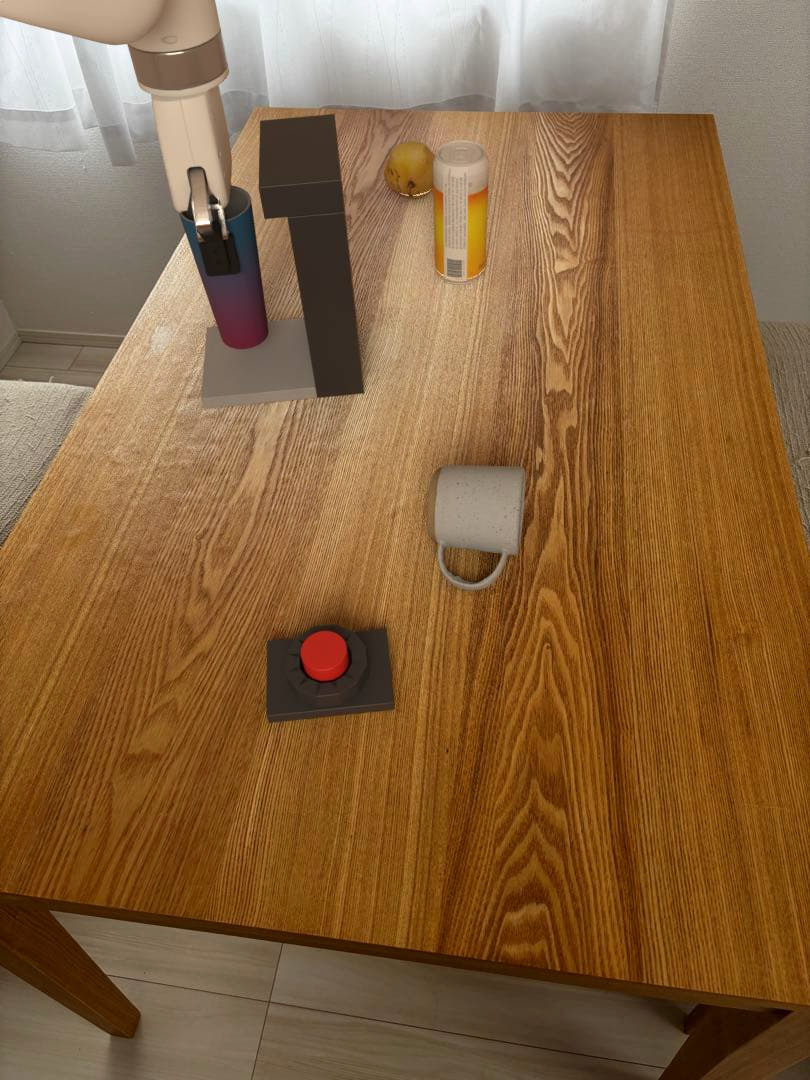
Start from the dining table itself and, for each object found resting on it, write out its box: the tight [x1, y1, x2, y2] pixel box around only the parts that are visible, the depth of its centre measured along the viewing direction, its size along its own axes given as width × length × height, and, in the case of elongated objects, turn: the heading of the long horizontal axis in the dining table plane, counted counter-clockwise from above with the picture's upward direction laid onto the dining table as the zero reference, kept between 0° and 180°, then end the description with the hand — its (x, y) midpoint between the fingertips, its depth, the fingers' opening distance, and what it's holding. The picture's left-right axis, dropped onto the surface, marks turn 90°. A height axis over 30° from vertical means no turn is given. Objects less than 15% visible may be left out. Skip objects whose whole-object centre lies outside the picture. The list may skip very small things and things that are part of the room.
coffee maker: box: [200, 113, 365, 410], centre depth 86 cm, size 17×12×24 cm
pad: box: [265, 623, 395, 724], centre depth 70 cm, size 10×7×3 cm
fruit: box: [383, 141, 436, 199], centre depth 114 cm, size 7×7×10 cm
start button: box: [301, 631, 349, 681], centre depth 68 cm, size 4×4×2 cm
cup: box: [178, 184, 269, 349], centre depth 86 cm, size 7×7×15 cm
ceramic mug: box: [427, 464, 526, 591], centre depth 76 cm, size 11×8×8 cm
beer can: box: [432, 139, 490, 286], centre depth 99 cm, size 6×6×15 cm
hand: (224, 251), depth 84 cm, fingers closed on cup, 6 cm apart
